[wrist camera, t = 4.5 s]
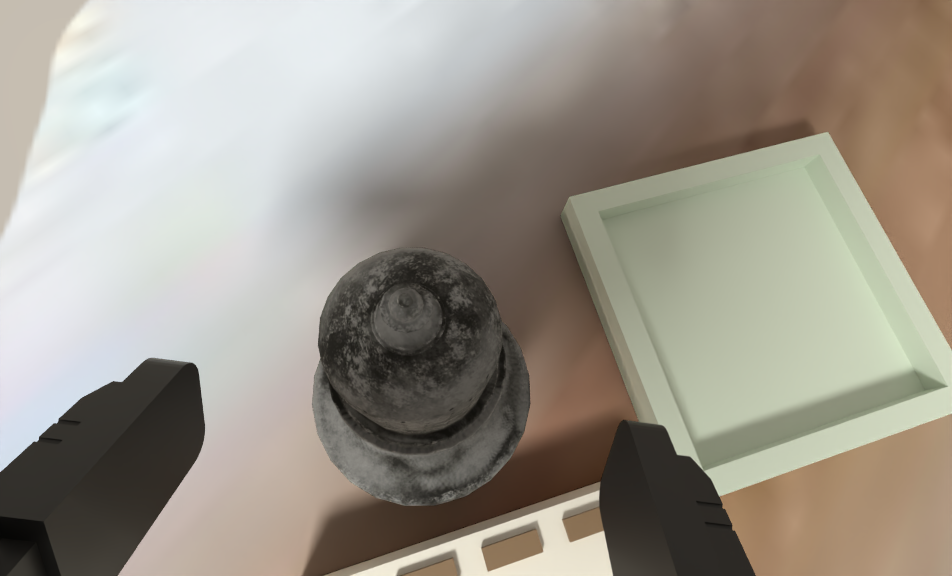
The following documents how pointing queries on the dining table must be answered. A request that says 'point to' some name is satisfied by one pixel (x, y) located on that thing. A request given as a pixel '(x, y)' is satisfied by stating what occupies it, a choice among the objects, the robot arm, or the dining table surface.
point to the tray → (760, 310)
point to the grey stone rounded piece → (417, 379)
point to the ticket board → (510, 544)
